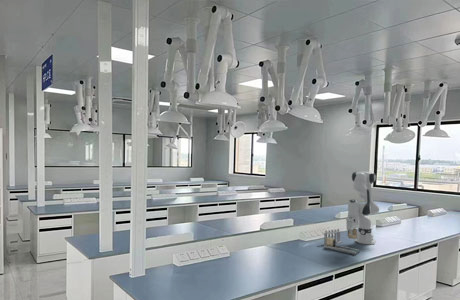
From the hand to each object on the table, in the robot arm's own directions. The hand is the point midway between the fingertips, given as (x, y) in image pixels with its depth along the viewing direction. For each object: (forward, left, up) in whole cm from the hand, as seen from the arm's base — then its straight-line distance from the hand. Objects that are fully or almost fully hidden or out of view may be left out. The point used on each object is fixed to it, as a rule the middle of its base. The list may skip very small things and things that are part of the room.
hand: (352, 234), depth 277 cm
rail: (0, -10, -17) cm, 20 cm away
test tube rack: (-18, -26, -17) cm, 36 cm away
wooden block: (0, 0, -4) cm, 4 cm away
